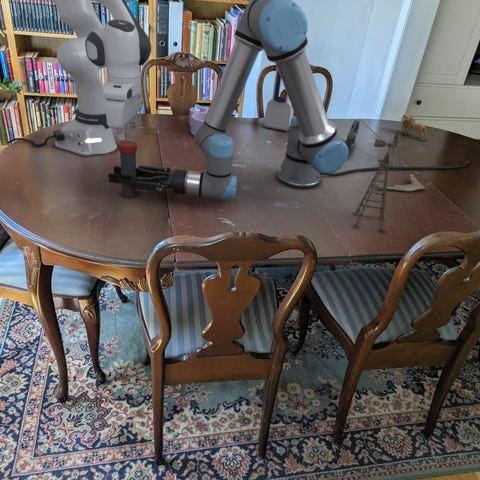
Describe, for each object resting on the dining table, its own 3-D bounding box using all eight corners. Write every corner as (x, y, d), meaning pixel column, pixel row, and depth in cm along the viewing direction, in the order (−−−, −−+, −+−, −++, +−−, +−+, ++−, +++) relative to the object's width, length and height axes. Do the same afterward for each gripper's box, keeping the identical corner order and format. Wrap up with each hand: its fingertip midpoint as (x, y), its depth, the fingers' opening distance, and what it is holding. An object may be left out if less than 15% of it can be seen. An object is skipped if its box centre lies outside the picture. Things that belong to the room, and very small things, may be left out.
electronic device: (292, 127, 214) (303, 59, 198) (288, 132, 208) (299, 62, 192) (266, 122, 217) (275, 54, 201) (262, 127, 211) (270, 57, 194)
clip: (182, 123, 206) (183, 107, 202) (209, 122, 210) (210, 106, 207) (197, 140, 191) (197, 123, 187) (225, 138, 195) (226, 122, 191)
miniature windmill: (382, 232, 141) (411, 137, 125) (354, 227, 142) (379, 132, 126) (381, 217, 149) (408, 126, 133) (354, 213, 150) (378, 122, 134)
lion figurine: (395, 132, 222) (400, 114, 217) (400, 130, 225) (405, 112, 220) (425, 142, 214) (431, 123, 209) (429, 139, 218) (435, 120, 213)
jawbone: (429, 189, 172) (431, 184, 171) (394, 201, 161) (396, 196, 160) (410, 177, 177) (412, 172, 176) (375, 189, 167) (376, 184, 165)
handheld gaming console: (349, 160, 187) (354, 136, 182) (342, 158, 188) (347, 134, 183) (355, 142, 206) (361, 119, 201) (349, 140, 207) (354, 118, 201)
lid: (117, 147, 140) (117, 140, 139) (135, 146, 142) (134, 139, 141) (120, 154, 136) (119, 147, 135) (138, 153, 138) (138, 146, 137)
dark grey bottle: (121, 191, 148) (118, 142, 139) (135, 190, 150) (133, 141, 141) (123, 197, 145) (121, 148, 136) (138, 196, 146) (136, 147, 137)
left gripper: (126, 75, 138) (128, 121, 145) (99, 93, 121) (104, 144, 128) (146, 78, 137) (148, 123, 145) (123, 96, 120) (126, 147, 128)
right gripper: (181, 206, 138) (103, 197, 139) (190, 181, 153) (120, 173, 153) (181, 184, 134) (101, 174, 134) (191, 160, 149) (119, 151, 149)
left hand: (127, 133), depth 136 cm, fingers open, 7 cm apart
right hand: (111, 174), depth 144 cm, fingers closed on dark grey bottle, 5 cm apart
